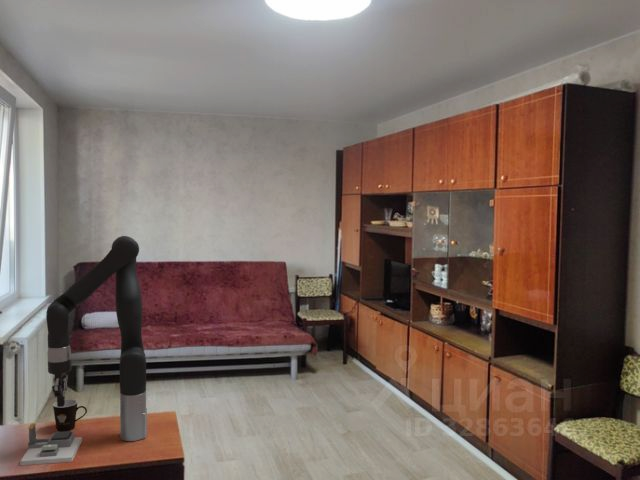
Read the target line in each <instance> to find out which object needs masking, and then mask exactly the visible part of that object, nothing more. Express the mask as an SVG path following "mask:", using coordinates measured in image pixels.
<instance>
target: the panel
mask: <svg viewBox="0 0 640 480" xmlns="http://www.w3.org/2000/svg"><path fill="white" fill-rule="evenodd" d="M54 433H55V432H53V433H52V434H51V436H50V437H46V438H45V437H44V438H36V439H37V443H36V444H31V445H29V446H28V450H27V451H26V452H25V453H24V455H23V457H22V458H21V459H20V465H22V466H33V464H34V465H44V464H56V463H58V464H59V463H71V462H73V460H74V459H75V456H76V454H77V453H78V450H79V448H80V445H81V444H82V441H83V437H82V436H81V437H80V436H79V437H75V431H71V436H70V437H69V439H67V440H53V441H52V437H53V435H54ZM53 444H57V448H56V449H54V450H41V447H42V446H43V445H53Z"/></svg>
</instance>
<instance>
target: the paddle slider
mask: <svg viewBox="0 0 640 480" xmlns="http://www.w3.org/2000/svg"><path fill="white" fill-rule="evenodd" d="M30 423H31V422H30ZM36 424H37V423H34V422H33V423H31V424H29V426H28V439H29V440H28V444H27V446H28V447H29V445H31V444H36V443H37V439H38V438H36V434H37V433H36Z"/></svg>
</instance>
